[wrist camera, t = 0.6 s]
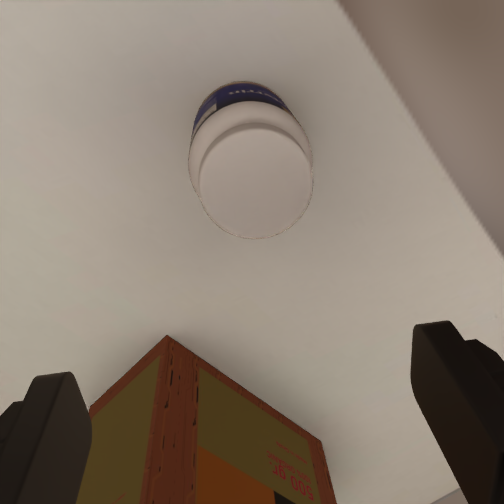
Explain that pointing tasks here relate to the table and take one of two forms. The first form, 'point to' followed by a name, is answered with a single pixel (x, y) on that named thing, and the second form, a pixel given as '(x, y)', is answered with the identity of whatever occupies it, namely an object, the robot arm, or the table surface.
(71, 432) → the robot arm
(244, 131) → the pill bottle
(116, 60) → the table surface
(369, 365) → the table surface
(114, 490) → the box
